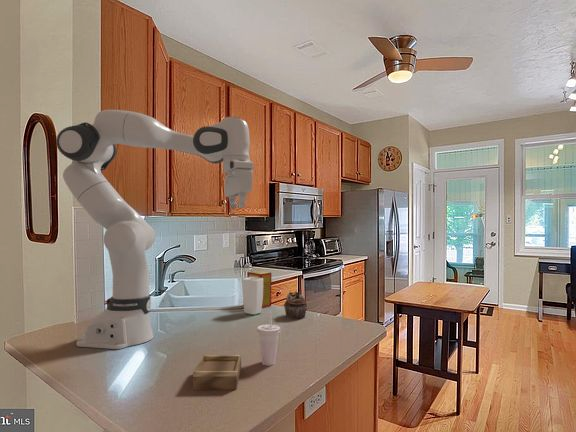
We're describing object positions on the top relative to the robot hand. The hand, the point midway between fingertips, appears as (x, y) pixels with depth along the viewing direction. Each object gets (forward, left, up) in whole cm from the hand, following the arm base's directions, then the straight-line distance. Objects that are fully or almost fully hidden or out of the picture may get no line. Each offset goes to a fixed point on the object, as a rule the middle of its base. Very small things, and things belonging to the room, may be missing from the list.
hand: (237, 208), depth 112 cm
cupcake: (+21, +29, -44) cm, 56 cm away
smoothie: (+11, -18, -44) cm, 48 cm away
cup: (+3, +34, -44) cm, 55 cm away
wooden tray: (-1, -28, -43) cm, 51 cm away
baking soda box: (+5, +48, -44) cm, 65 cm away
